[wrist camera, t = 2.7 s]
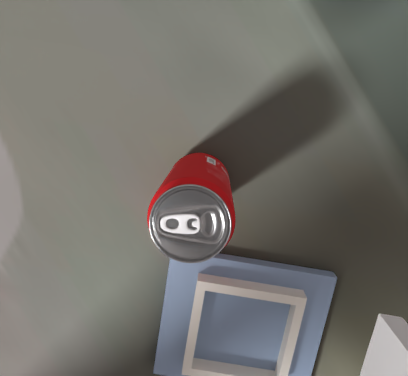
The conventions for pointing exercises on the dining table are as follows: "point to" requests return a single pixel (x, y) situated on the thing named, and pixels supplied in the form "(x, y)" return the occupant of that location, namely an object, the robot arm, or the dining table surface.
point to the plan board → (242, 318)
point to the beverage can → (193, 210)
